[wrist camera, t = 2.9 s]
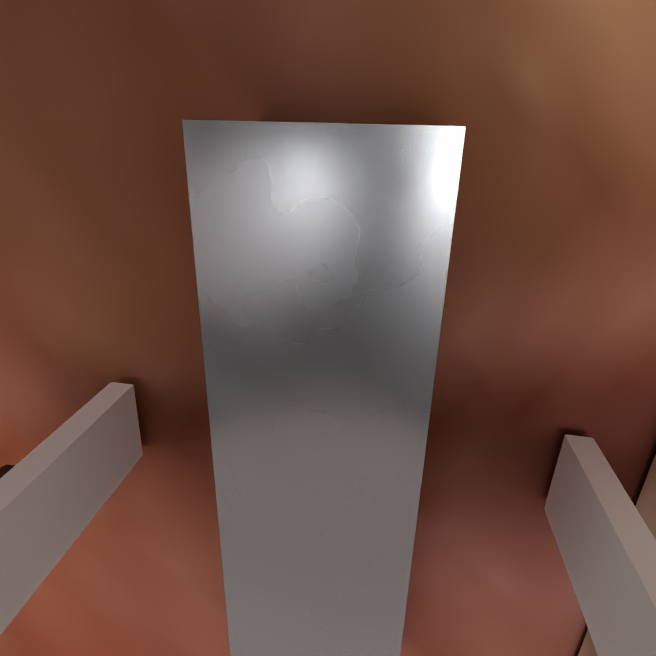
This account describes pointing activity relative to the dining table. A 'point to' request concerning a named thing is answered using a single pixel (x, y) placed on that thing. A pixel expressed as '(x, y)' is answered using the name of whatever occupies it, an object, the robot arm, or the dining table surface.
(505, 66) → the dining table surface
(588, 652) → the rack
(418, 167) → the bar
